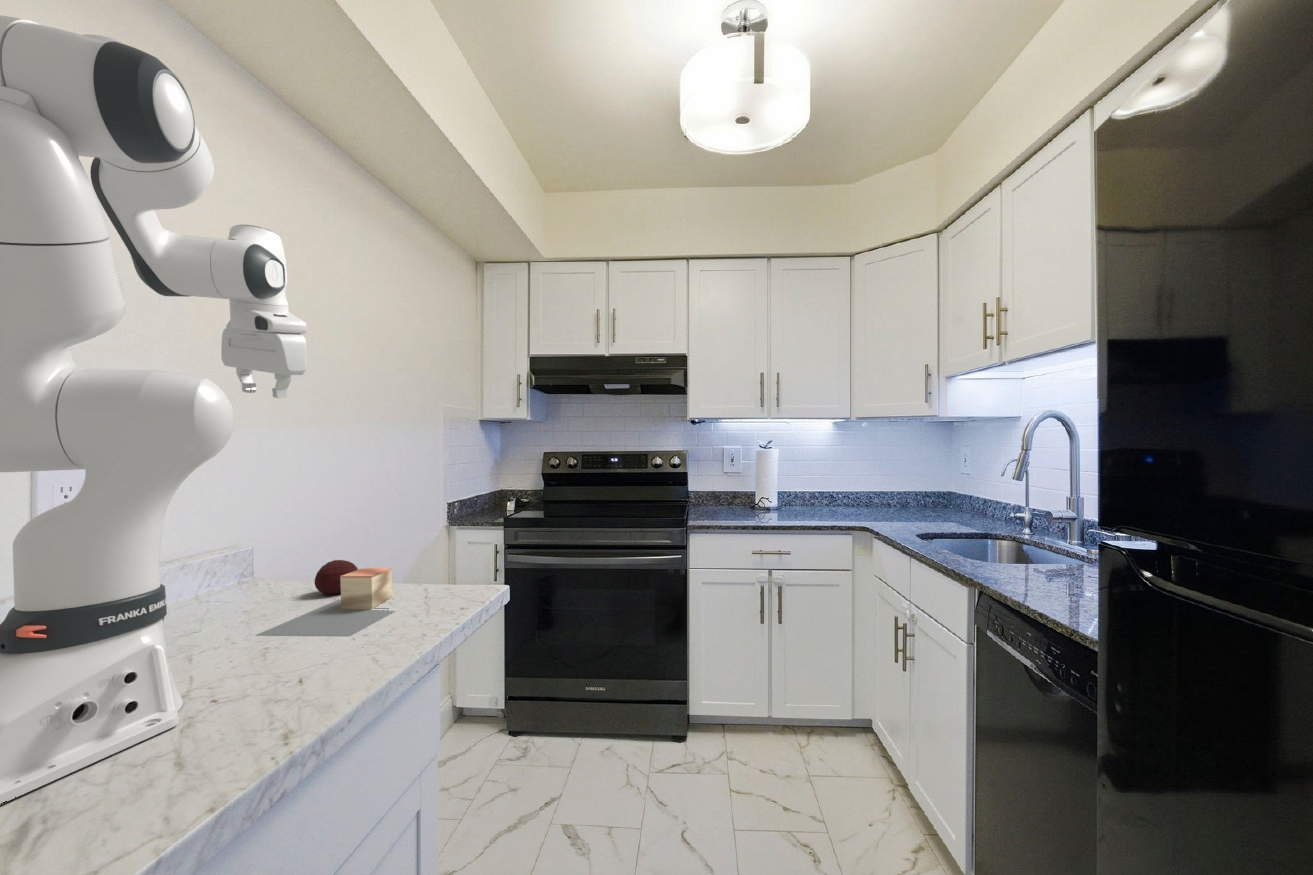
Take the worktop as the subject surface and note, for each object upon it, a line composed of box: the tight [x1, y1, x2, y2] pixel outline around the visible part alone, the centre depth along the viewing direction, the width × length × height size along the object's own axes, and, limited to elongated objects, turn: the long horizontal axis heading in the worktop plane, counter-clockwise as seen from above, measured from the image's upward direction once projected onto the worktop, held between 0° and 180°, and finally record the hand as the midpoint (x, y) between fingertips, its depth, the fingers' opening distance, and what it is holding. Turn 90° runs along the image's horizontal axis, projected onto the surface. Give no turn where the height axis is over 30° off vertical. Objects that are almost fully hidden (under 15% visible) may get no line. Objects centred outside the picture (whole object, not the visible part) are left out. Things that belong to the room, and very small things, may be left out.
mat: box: [255, 599, 395, 637], centre depth 94 cm, size 19×16×1 cm
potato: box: [314, 559, 359, 596], centre depth 110 cm, size 7×8×7 cm
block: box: [340, 567, 393, 609], centre depth 101 cm, size 6×6×6 cm
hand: (264, 395), depth 102 cm, fingers open, 8 cm apart
